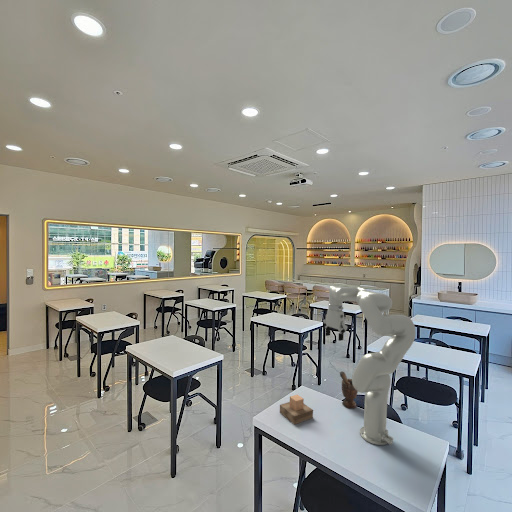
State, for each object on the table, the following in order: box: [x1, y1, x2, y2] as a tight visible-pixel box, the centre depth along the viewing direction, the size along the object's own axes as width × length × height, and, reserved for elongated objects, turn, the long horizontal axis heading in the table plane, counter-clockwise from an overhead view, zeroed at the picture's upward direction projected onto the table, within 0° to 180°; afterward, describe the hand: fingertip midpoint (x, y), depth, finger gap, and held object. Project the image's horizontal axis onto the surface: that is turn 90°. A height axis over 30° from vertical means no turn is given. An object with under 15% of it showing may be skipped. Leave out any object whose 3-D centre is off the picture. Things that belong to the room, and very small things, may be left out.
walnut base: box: [279, 401, 314, 425], centre depth 149 cm, size 12×12×4 cm
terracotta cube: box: [289, 394, 305, 411], centre depth 149 cm, size 5×5×5 cm
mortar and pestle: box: [339, 371, 359, 409], centre depth 159 cm, size 12×9×20 cm
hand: (334, 337), depth 163 cm, fingers open, 9 cm apart
